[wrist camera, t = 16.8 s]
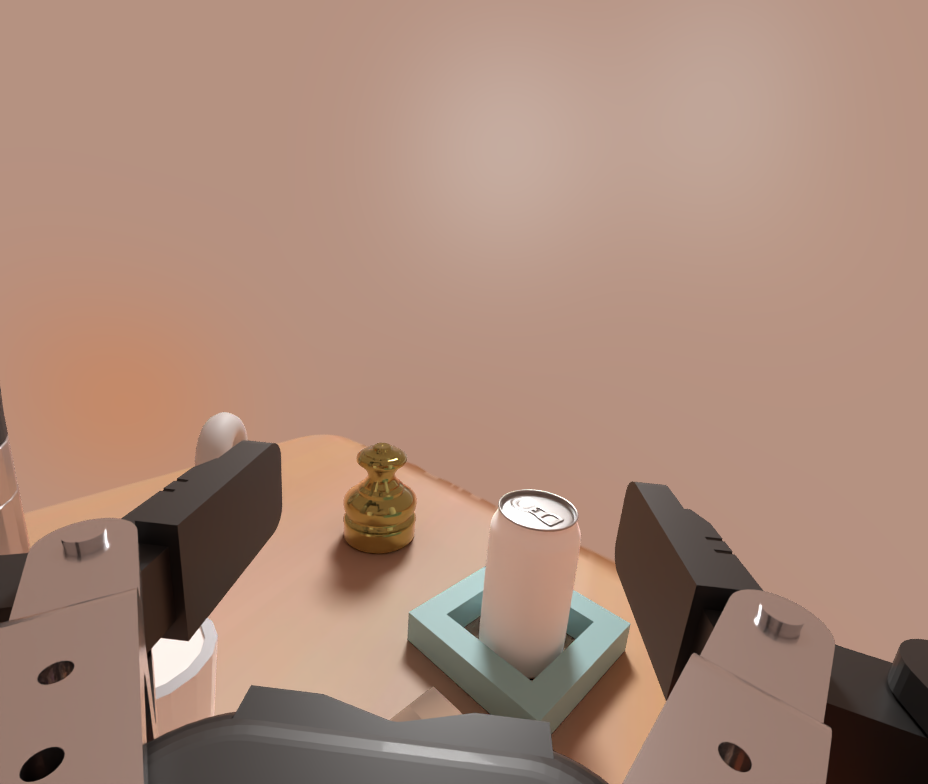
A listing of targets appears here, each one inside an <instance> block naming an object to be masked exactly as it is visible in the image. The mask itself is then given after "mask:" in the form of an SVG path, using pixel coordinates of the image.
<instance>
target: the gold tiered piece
mask: <svg viewBox="0 0 928 784" xmlns="http://www.w3.org/2000/svg"><path fill="white" fill-rule="evenodd" d="M406 461H407V455H406V453H405V452H403V451H402V450H401V449H399V448H397V447H395V446H392V445H390V444H387V443H377V444H375V445H372V446H369V447H367V448H364V449H363V450H361V451H360V452H359V453H358V454H357V462H358V464H359V465H360V466H362V467H363V468H365V469H366V470H367V472H368V476H367V477H366V478H365V479H364V480H362V481H361V482H360V483H359V484H357V485H355V486H353V487H352V488H351V489H350V490H349V491H348V492H347V493H346V495H345V497H344V509H345V512H346V513H345V514H344V517H343V521H344V537H345V540H346V541H347V543H348V544H349V545H351V546H352V547H354V548H355V549H357V550H360V551H363V552H368V553H388V552H393V551H396V550H399V549H401V548H403V547H404V546H406V545H407V544H408V543H410V542H411V540H412V539H413V537H414V532H415V521H416V515H415V513H414V511H415V508H416V504H417V498H416V495H415V493H414V492H413V490H412V489H411V488H410V487H408V486H407V485H405V484H403V483H402V482H401V481H400V480H399V479H397V478H396V477H395V472H396V471H397V470H398V469H399V468H401V467H402V466H403V465H404V464H405V463H406Z"/></svg>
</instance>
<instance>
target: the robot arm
mask: <svg viewBox="0 0 928 784" xmlns="http://www.w3.org/2000/svg"><path fill="white" fill-rule="evenodd" d="M281 512H282V480H281V452H280V448H279V446H278V445H277V444H276V443H266V442H256V441H247V440H243V441H240V442H239V443H238V444H236V445H235V446H234V447H232V448H231V449H230V450H228V451H227V452H226V453H224V454H223V455H222V456H220V457H219V458H215V459H213V460H210V461H208V462H205V463H202V464H200V465H197V466H195V467H193V468H191V469H190V470H189V471H187V472H186V473H184V474H183V475H182V476H180V477H179V478H177V481H173V482H172V483H170V484H169V485H168V486H166V487H165V488H164V490H163V491H159V492H158V493H156V494H155V495H154V496H152V497H151V498H149V499H148V500H147V501H145V502H144V503H142V504H141V505H140V506H138V507H137V508H135V509H134V510H133V511H131V512H130V513H128V514H127V515H126V516H124V517H123V518H121V519H117V518H101V519H92V520H87V521H82V522H78V523H74V524H71V525H68V526H65V527H62V528H60V529H58V530H55V531H53V532H51V533H49V534H48V535H46V536H44V537H43V538H41V539H40V540H38V541H37V542H36V543H35V544H34V545H33V546H32V547H31V548H30V544H29V539H28V533H27V528H26V523H25V518H24V513H23V507H22V503H21V497H20V492H19V487H18V484H17V478H16V473H15V468H14V463H13V458H12V453H11V448H10V442H9V437H8V432H7V427H6V422H5V417H4V412H3V405H2V397H1V389H0V784H608V783H607V782H606V781H605V780H604V779H602V778H601V777H600V776H598V775H597V774H595V773H594V772H592V771H591V770H589V769H588V768H586V767H585V766H583V765H581V764H580V763H578V762H576V761H574V760H572V759H570V758H568V757H566V756H564V755H562V754H559V753H557V752H555V751H553V748H552V740H551V731H550V722H545V721H537V720H529V719H520V718H512V717H504V716H496V715H488V714H480V713H470V714H462V715H454V716H445V717H437V718H429V719H421V720H412V721H404V722H395V721H390V720H387V719H384V718H382V717H379V716H377V715H374V714H372V713H369V712H367V711H364V710H362V709H359V708H357V707H354V706H352V705H349V704H347V703H344V702H342V701H339V700H337V699H334V698H332V697H329V696H327V695H324V694H318V693H310V692H302V691H294V690H285V689H277V688H269V687H261V686H253V685H251V687H250V688H249V690H248V692H247V694H246V695H245V697H244V699H243V701H242V703H241V704H240V706H239V708H238V710H237V711H236V712H232V713H225V714H221V715H216V716H212V717H208V718H204V719H201V720H198V721H195V722H192V723H189V724H186V725H184V726H181V727H179V728H177V729H174V730H172V731H170V732H167V733H165V734H163V735H161V736H158V721H157V706H156V692H155V677H154V662H153V654H152V648H153V646H154V645H155V644H156V643H157V642H158V641H159V640H160V638H164V639H173V640H181V641H189V640H190V639H191V638H192V636H193V635H194V634H195V633H196V631H197V630H198V629H199V628H200V626H201V625H202V624H203V622H204V621H205V620H206V619H207V617H208V616H209V615H210V614H211V612H212V611H213V610H214V608H215V607H216V606H217V605H218V603H219V602H220V601H221V600H222V598H223V597H224V596H225V594H226V593H227V592H228V591H229V589H230V588H231V587H232V586H233V584H234V583H235V582H236V580H237V579H238V578H239V577H240V575H241V574H242V573H243V572H244V570H245V569H246V568H247V566H248V565H249V564H250V563H251V561H252V560H253V559H254V558H255V556H256V555H257V554H258V552H259V551H260V550H261V549H262V547H263V546H264V545H265V544H266V542H267V541H268V540H269V538H270V537H271V536H272V535H273V533H274V532H275V530H276V528H277V526H278V524H279V521H280V517H281ZM615 564H616V569H617V573H618V575H619V578H620V581H621V583H622V586H623V589H624V591H625V594H626V597H627V599H628V602H629V604H630V607H631V610H632V612H633V615H634V618H635V620H636V623H637V626H638V628H639V631H640V633H641V636H642V639H643V641H644V644H645V647H646V649H647V652H648V655H649V657H650V660H651V662H652V665H653V668H654V670H655V673H656V676H657V678H658V681H659V684H660V686H661V689H662V691H663V694H664V697H665V699H666V703H665V705H664V707H663V709H662V711H661V712H660V714H659V716H658V718H657V720H656V722H655V724H654V726H653V727H652V729H651V731H650V733H649V735H648V737H647V739H646V740H645V742H644V744H643V746H642V748H641V750H640V752H639V753H638V755H637V757H636V759H635V761H634V763H633V765H632V767H631V768H630V770H629V772H628V774H627V776H626V778H625V780H624V781H623V783H622V784H928V640H922V639H910V640H906V641H904V642H903V643H901V645H900V647H899V649H898V652H897V654H896V656H895V659H894V661H893V663H890V662H888V661H884V660H881V659H878V658H875V657H871V656H868V655H865V654H862V653H859V652H856V651H853V650H849V649H846V648H843V647H841V646H838V645H835V640H834V638H833V635H832V634H831V632H830V630H829V629H828V628H827V627H826V625H825V624H824V623H823V622H822V621H821V620H820V619H819V618H817V617H816V616H815V615H814V614H812V613H811V612H809V611H808V610H806V609H805V608H803V607H802V606H800V605H798V604H797V603H795V602H793V601H790V600H788V599H786V598H784V597H781V596H779V595H776V594H773V593H769V592H765V591H763V590H762V589H761V587H760V586H759V585H758V584H757V582H756V581H755V580H754V578H753V577H752V576H751V575H750V573H749V572H748V571H747V569H746V568H745V567H744V566H743V564H742V563H741V562H740V561H739V559H738V558H737V557H736V556H735V555H733V554H732V550H731V549H730V548H729V547H728V545H727V544H726V543H725V542H723V541H722V538H721V536H720V535H719V534H718V533H717V531H716V530H715V529H714V528H713V526H712V525H711V524H710V523H709V522H707V521H706V520H705V519H703V518H702V517H700V516H699V515H697V514H696V513H695V512H693V511H692V510H690V509H684V508H683V507H682V505H681V504H680V503H679V501H678V500H677V498H676V497H675V496H674V494H673V493H672V492H671V490H670V489H669V488H668V486H666V485H660V484H650V483H641V482H631V483H629V485H628V487H627V490H626V495H625V499H624V505H623V509H622V514H621V519H620V524H619V529H618V535H617V540H616V546H615Z"/></svg>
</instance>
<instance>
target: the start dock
mask: <svg viewBox="0 0 928 784" xmlns="http://www.w3.org/2000/svg"><path fill="white" fill-rule="evenodd" d="M454 715H462V713H461V712H460V711H459V710H458V709H457V708H456V707H455V706H454V705H453V704H452V703H451V702H450V701H448V700H447V699H446V698H445V697H444V696H443V695H442V694H441V693H440V692H439V691H438V690H437V689H436V688H435V687H434V686H433V687H431V688H430V689H429V690H428V691H426V692H425V693H424V694H422V695H421V696H420V697H419V698H417V699H416V700H415V701H413V702H412V703H411V704H410V705H408V706H407V707H406V708H404V709H403V710H402V711H401V712H399V713H398V714H397V715H395V716H394V717H393V718H392V719H390V721H395V722H404V721H412V720H421V719H429V718H437V717H445V716H454Z"/></svg>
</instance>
